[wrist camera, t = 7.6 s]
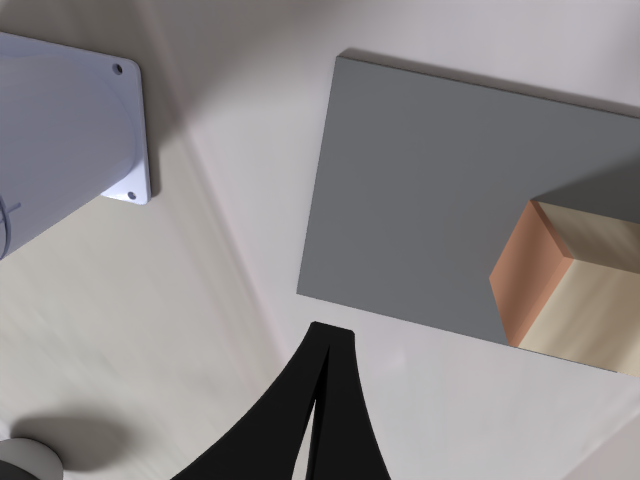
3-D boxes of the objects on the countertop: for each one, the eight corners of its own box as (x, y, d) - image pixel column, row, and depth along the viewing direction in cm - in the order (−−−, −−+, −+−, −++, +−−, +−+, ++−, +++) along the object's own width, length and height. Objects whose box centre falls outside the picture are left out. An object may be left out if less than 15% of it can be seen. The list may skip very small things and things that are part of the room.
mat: (297, 289, 25) (296, 293, 25) (337, 55, 18) (336, 56, 17) (613, 367, 24) (616, 372, 24) (803, 151, 17) (811, 155, 16)
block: (508, 345, 18) (714, 395, 17) (563, 256, 15) (811, 313, 15) (488, 278, 22) (654, 317, 21) (529, 199, 19) (720, 242, 19)
